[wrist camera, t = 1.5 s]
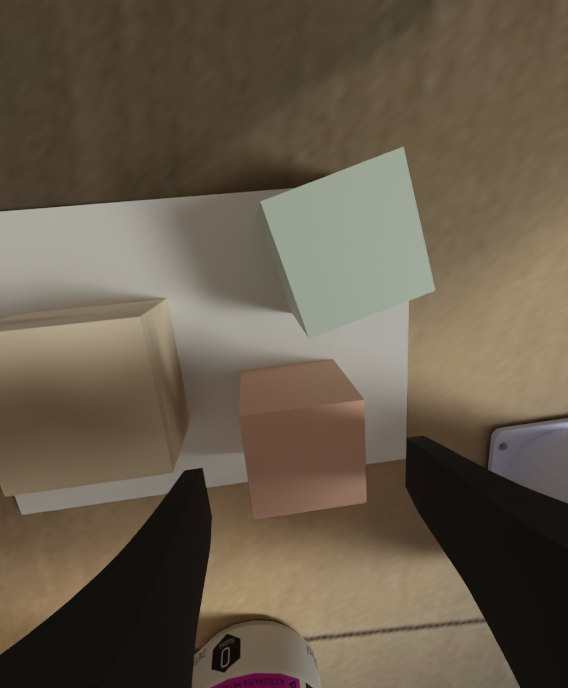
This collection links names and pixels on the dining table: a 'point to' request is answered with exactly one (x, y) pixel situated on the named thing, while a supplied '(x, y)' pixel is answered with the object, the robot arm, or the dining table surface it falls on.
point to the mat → (197, 319)
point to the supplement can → (256, 658)
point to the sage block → (348, 244)
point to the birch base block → (89, 396)
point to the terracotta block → (302, 438)
